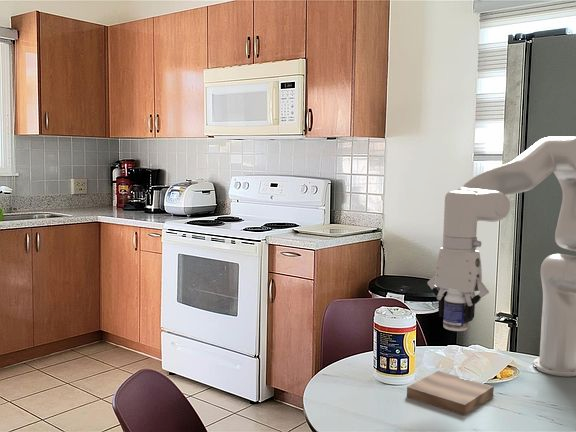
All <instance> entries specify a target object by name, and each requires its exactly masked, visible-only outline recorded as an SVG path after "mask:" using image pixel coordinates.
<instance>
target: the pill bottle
mask: <svg viewBox="0 0 576 432" xmlns="http://www.w3.org/2000/svg"><path fill="white" fill-rule="evenodd" d="M447 292H448V295H447V296H445V299H444V316H443V317H442V318H443V321H442V325H443V328H444V329H445V330H448V331H453V332H463V331H466V330H468V329H469V328H468V326H469V322H465V321H464V311H465V306H466V305H467V302H466V298H465V295H464V293H461V292H459V291H458V290H457V289H452V288H449V289H448V290H447Z"/></svg>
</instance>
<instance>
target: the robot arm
mask: <svg viewBox="0 0 576 432" xmlns="http://www.w3.org/2000/svg"><path fill="white" fill-rule="evenodd" d="M551 174H554V176H555V177H556V179H557V181H558V182H559V185H560V187H561V190H562V191H561V192H562V201H561V206H560V210H559V215H558V219H557V223H556V224H557V225H556V227H555V234H554V240H555V244H557V246H558V247H560V248H561V249H565V250H568V251H572V252H576V136H547V137H543V138H540V139H539V140H537V141H536V142H534V143H533V145H531V146H530V147H528V148H527V149H526V150H523V152H521V153H520V154H519V155H517V157H515V158H513V160H511V161H510V162H507V163H503V164H502V165H499V166H497V167H493V168H492V169H488V170H486V171H484V172H481V173H479V174H477V175H475V176H473V177H472V178H470V179H469V180H468V181H466V182H465V183H463V184H462V185H461V186H460V187H459V188H458V189H457V190H451V191H448V192H447V193H446V194H445V196H444V212H443V213H444V214H443V234H442V247H440V249H439V252H438V256H437V260H436V268H435V274H434V275H433V276H432V277H431V278H430V279H429V280H428V281H427V282H426V283H427V286H429V287H430V289H431V290H432V293H434V295H435V296H436V299H437V301H438V306H437V307H438V308H437V309H438V313H439V314H438V316H439V318H443V317H444V299H445V296H447V295H448V292H447V290H448V289H449V288H452V289H457V290H458V291H459V292H461V293H464V295H465V298H466V302H467V305H466V306H465V311H464V321H465V322H468V323H469V322H472V321H473V319H474V318H475V308H476V304H478V303H479V302H480V301H481V300H482V299H483V298H484V297H487V296H488V295H489V294H490V292H489V290H488V288H487V287H486V285H485V284H484V283H483V276H482V275H483V273H482V271H483V270H482V260H481V254H480V250H477V248H481V247H482V241H481V240H479V239H478V237H477V234H478V233H477V231H478V230H477V229H478V221H479V222H489V223H496V222H499V221H502V220H504V219H505V218H506V217H507V216H508V214H509V212H510V209H511V202H510V199H509V197H508V196H509V195H514V194H515V195H516V194H520V193H524V192H528V191H531V190H533V189H534V188H536V186H538V185H539V184H540V183H541V182H543V181H544V180H545V179H547V178H548V177H549V176H550V175H551ZM540 279H541V280H540V281H541V288H542V307H541V309H542V310H541V324H540V325H541V328H540V343H539V357H537V358H535V359H534V360H533V361H532V366H533V365H535V366H536V367H537V368H538V370H537V371H539V372H542V373H545V374H547V375H552V376H558V377H576V255H571V254H566V253H553V254H549V255H548V256H547V257H545V258H544V259H543V261H542V263H541V266H540ZM476 292H478V294H476Z"/></svg>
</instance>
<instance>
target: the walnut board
mask: <svg viewBox="0 0 576 432" xmlns="http://www.w3.org/2000/svg"><path fill="white" fill-rule="evenodd" d="M459 377H460V376H458V375H455V374H451V373H447V372H443V371H441V370H437V371H435V372H433V373H431V374H429V375H428V376H425V377H424V378H422V379H420V380H418V381H416V382H414V383H411V384H410V385H409V386H407V387H406V398H409V399H411V400H415V401H419V402H422V403H424V404H428V405H430V406H433V407H437V408H440V409H443V410H447V411H449V412H452V413H455V414H458V415H461V416H466V415H467V414H469V413H470V412H472V411H473V410H475V409H477V408H478V407H480V406H481V405H482V404H484V403H486V402H487V401H488V400H490V399H492V398H493V397H494V388H495V387H494V386H493V385H490V384H486V383H484V382H483V383H482V382H479V381H475V380H472V381H470V380H471V379H469V380H464V379H460V378H459Z"/></svg>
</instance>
